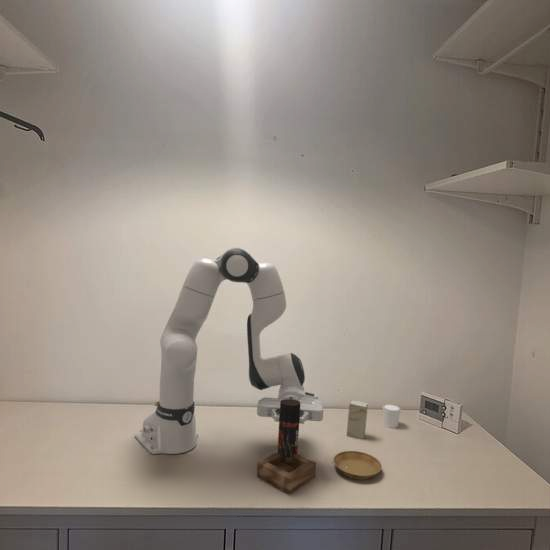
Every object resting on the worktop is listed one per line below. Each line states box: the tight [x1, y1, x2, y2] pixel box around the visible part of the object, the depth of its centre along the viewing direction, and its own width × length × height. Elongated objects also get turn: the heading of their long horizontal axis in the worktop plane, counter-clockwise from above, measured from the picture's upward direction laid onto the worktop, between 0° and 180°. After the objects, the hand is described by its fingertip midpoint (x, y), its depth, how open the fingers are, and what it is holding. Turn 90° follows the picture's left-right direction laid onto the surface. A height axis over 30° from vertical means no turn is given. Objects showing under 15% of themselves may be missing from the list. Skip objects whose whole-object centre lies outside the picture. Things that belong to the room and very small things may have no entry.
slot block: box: [256, 451, 317, 496], centre depth 127 cm, size 12×12×4 cm
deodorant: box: [276, 399, 300, 457], centre depth 126 cm, size 6×6×15 cm
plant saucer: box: [333, 450, 382, 480], centre depth 134 cm, size 15×15×3 cm
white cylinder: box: [382, 403, 402, 428], centre depth 168 cm, size 7×7×7 cm
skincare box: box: [346, 399, 369, 440], centre depth 157 cm, size 6×4×12 cm
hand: (289, 420), depth 125 cm, fingers closed on deodorant, 6 cm apart
